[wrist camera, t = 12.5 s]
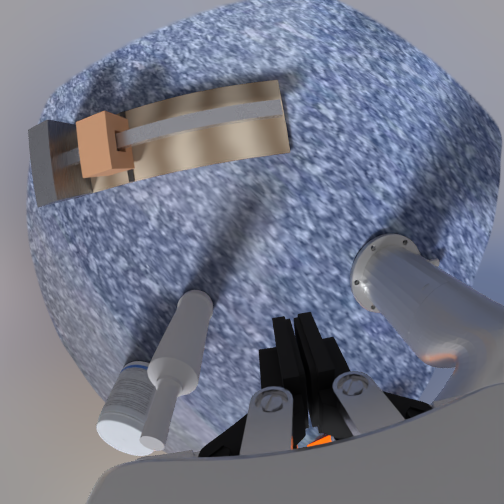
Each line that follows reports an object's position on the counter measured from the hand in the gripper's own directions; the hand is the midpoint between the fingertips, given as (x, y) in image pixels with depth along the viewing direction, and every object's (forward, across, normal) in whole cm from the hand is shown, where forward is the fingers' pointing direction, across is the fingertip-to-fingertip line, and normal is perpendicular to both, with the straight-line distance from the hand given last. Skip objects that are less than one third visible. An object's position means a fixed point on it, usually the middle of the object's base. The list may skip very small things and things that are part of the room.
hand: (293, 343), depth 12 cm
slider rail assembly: (+27, +11, -14) cm, 32 cm away
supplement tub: (+27, +24, +24) cm, 44 cm away
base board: (+27, +11, -14) cm, 32 cm away
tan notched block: (+25, +17, -14) cm, 33 cm away
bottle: (+27, +11, +10) cm, 31 cm away
